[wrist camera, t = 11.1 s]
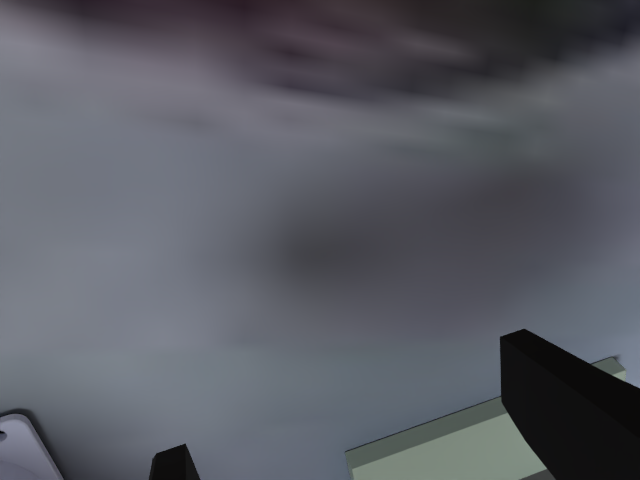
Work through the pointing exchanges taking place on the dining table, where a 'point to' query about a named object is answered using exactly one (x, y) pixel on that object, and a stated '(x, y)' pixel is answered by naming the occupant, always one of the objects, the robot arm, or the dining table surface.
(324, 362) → the dining table surface
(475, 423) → the end holder
